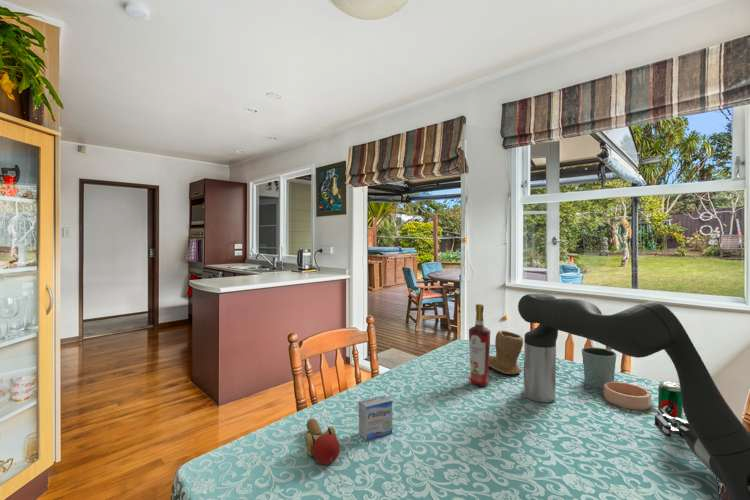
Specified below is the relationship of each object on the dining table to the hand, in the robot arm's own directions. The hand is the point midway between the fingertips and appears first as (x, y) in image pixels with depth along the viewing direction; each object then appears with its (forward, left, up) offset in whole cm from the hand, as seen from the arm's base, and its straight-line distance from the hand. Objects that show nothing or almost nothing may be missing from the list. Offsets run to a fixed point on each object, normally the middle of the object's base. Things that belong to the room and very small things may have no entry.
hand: (681, 415), depth 87 cm
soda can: (0, +6, -7) cm, 9 cm away
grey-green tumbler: (-11, +32, -7) cm, 35 cm away
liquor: (-50, +19, -7) cm, 54 cm away
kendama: (-84, -34, -7) cm, 90 cm away
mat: (-6, +20, -7) cm, 22 cm away
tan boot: (-42, +37, -7) cm, 57 cm away
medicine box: (-73, -24, -7) cm, 77 cm away
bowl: (-6, +20, -6) cm, 22 cm away
